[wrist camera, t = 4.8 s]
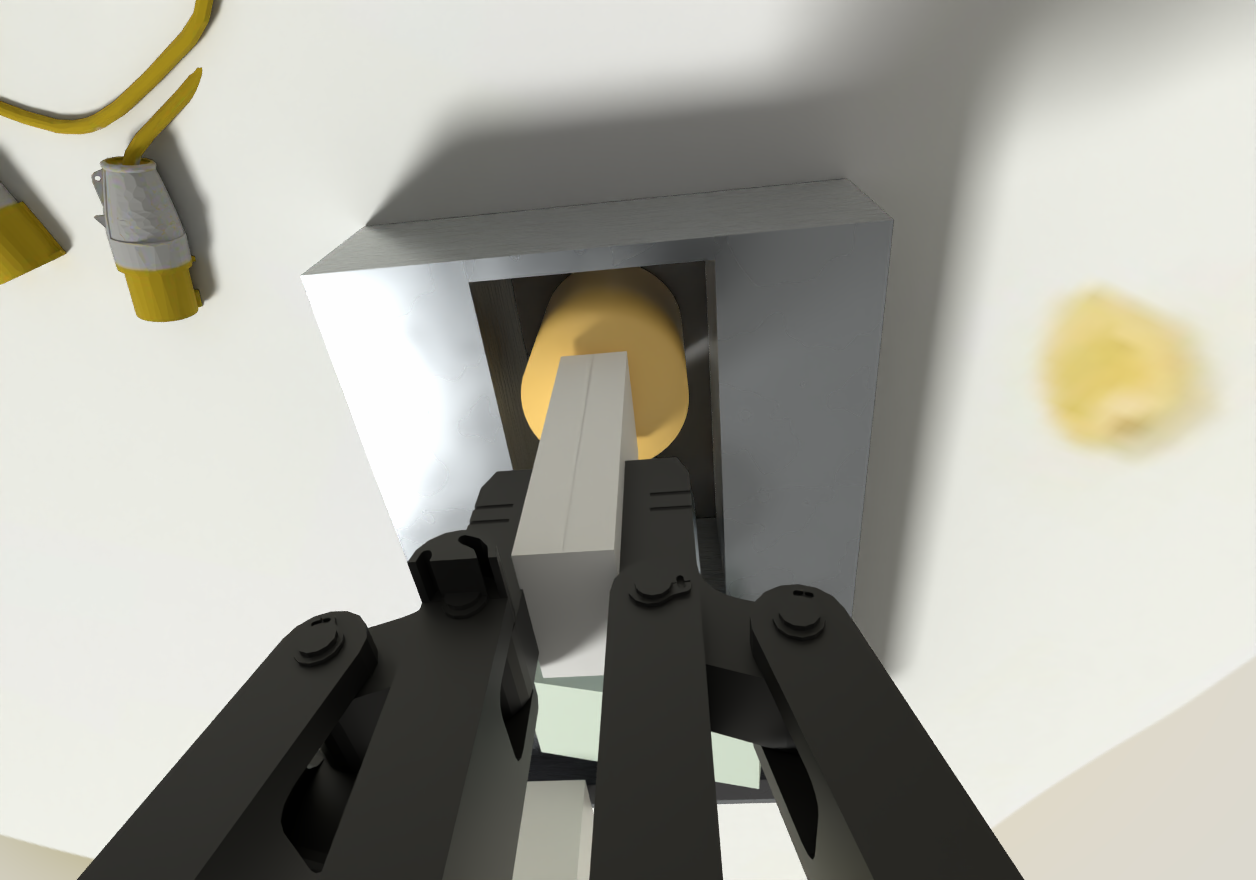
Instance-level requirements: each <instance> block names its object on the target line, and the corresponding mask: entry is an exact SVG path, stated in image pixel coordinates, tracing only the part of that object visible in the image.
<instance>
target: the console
mask: <svg viewBox="0 0 1256 880" xmlns="http://www.w3.org/2000/svg"><path fill="white" fill-rule="evenodd" d="M893 223H894V219H892V218H891V217H890V216H889V215H888V214H887V213H886V212H885V211H883V210H882V209H881V208H880V207H879V206H878V205H877V204H876V203H874V202H873V201H872V200H871V199H870V198H869V197H868V196H867V195H865V194H864V193H863V192H862V191H861V190H860V189H859V188H858V187H856V186H855V185H854V184H853V183H852V182H851V181H850V180H849V179H847V178H846V179H836V180H826V181H816V182H806V183H796V184H786V185H776V186H766V187H756V188H746V189H736V190H726V191H716V192H706V193H696V194H686V195H676V196H666V197H656V198H646V199H636V200H626V201H616V202H606V203H596V204H586V205H576V206H566V207H556V208H546V209H536V210H526V211H516V212H506V213H496V214H486V215H476V216H466V217H456V218H445V219H435V220H425V221H415V222H405V223H395V224H385V225H375V226H365V227H363V228H361V229H360V230H359V231H358V232H356V233H355V234H354V235H352V236H351V237H350V238H349V239H347V240H346V241H345V242H343V243H342V244H341V245H339V246H338V247H337V248H336V249H334V250H333V251H332V252H330V253H329V254H328V255H327V256H325V257H324V258H323V259H321V260H320V261H319V262H317V263H316V264H315V265H314V266H312V267H311V268H310V269H308V270H307V271H306V272H305V273H303V274H302V275H301V279H302V282H303V284H304V287H305V290H306V292H307V295H308V298H309V300H310V303H311V306H312V308H313V311H314V314H315V316H316V319H317V322H318V324H319V327H320V330H321V332H322V335H323V338H324V340H325V343H326V346H327V349H328V351H329V354H330V357H331V359H332V362H333V365H334V367H335V370H336V373H337V375H338V378H339V381H340V383H341V386H342V389H343V391H344V394H345V397H346V399H347V402H348V405H349V407H350V410H351V413H352V415H353V418H354V421H355V423H356V426H357V429H358V431H359V434H360V437H361V439H362V442H363V445H364V447H365V450H366V453H367V456H368V458H369V461H370V464H371V466H372V469H373V472H374V474H375V477H376V480H377V482H378V485H379V488H380V490H381V493H382V496H383V498H384V501H385V504H386V506H387V509H388V512H389V514H390V517H391V520H392V522H393V525H394V528H395V530H396V533H397V536H398V538H399V541H400V544H401V546H402V549H403V552H404V555H405V557H406V560H407V562H408V560H409V559H410V558H411V556H412V555H413V553H414V552H415V550H417V549H418V548H419V547H421V546H422V545H423V544H424V543H426V542H427V541H428V540H430V539H433V538H435V537H437V536H439V535H442V534H444V533H447V532H453V531H458V530H466V529H467V526H468V525H469V524H470V522H469V521H470V518H471V515H472V512H473V510H475V507H474V506H475V503H476V500H477V498H478V495H479V492H480V489H481V487H482V486H483V485H484V484H485V483H486V482H487V481H488V480H489V479H490V478H491V477H492V476H493V475H494V474H495V473H496V472H497V471H510V470H525V469H533V466H534V462H535V458H536V454H537V450H538V446H539V442H540V440H539V439H538V437H537V436H536V435H535V434H534V432H533V431H532V429H531V428H530V426H529V424H528V422H527V420H526V417H525V415H524V411H523V408H522V401H521V385H522V379H523V376H524V372H525V369H526V366H527V364H528V361H527V356H526V351H525V346H524V341H523V336H522V331H521V326H520V321H519V316H518V311H517V306H516V301H515V296H514V292H513V287H512V282H511V278H520V277H531V276H542V275H553V274H564V273H575V272H586V271H596V270H607V269H618V268H629V267H640V266H651V265H662V264H673V263H684V262H695V261H705V272H706V296H707V319H708V342H709V366H710V389H711V412H712V436H713V459H714V482H715V506H716V517H715V518H699V519H696V527H697V538H698V550H699V561H700V573H701V576H702V577H703V579H704V580H705V581H706V582H707V583H708V584H709V585H710V586H712V587H713V588H714V589H716V590H718V591H720V592H722V593H723V594H726V595H729V596H732V597H736V598H740V599H744V600H749V601H754V602H755V601H756V600H757V599H758V598H759V597H760V596H761V595H762V594H763V593H764V592H766V591H768V590H770V589H773V588H775V587H778V586H780V585H792V584H800V585H806V586H811V587H816V588H818V589H820V590H822V591H824V592H826V593H828V594H830V595H832V596H833V597H834V598H835V599H836V600H837V601H838V602H839V603H840V604H841V605H842V606H843V607H844V608H845V610H846V611H847V613H848V614H849V616H850V617H851V619H852V610H853V600H854V591H855V581H856V572H857V563H858V553H859V544H860V534H861V525H862V515H863V506H864V496H865V487H866V478H867V468H868V459H869V449H870V440H871V430H872V421H873V412H874V402H875V393H876V383H877V374H878V364H879V355H880V346H881V336H882V327H883V317H884V308H885V298H886V289H887V279H888V270H889V261H890V251H891V242H892V232H893ZM597 763H598V761H592V760H586V759H580V758H574V757H568V756H563V755H557V754H551V753H545V752H541V749H540V745H539V742H538V738H537V735H536V731H535V735H534V741H533V748H532V754H531V761H530V767H529V774H528V780H527V782H530V781H562V780H585V781H586V785H587V789H588V793H589V798H590V802H591V806H592V808H594V805H595V791H596V777H597ZM715 787H716V800H717V804H739V803H775V802H776V801H775V798H774V796H773V793H772V791H771V788H770V786H769V783H768V781H767V779H766V776H765V774H764V771H763V769H762V766H761V772H760V784H759V789H756V788H750V787H744V786H738V785H732V784H727V783H721V782H715Z"/></svg>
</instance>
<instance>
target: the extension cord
mask: <svg viewBox="0 0 1256 880" xmlns="http://www.w3.org/2000/svg"><path fill="white" fill-rule="evenodd" d="M212 5H213V0H196V3H195V8H194V13H193V14H192V16H191V17H190V19H189V21H188V22H187V24H186V25H185V27H184V28H183V30H182V32H181V33H180V34H179V35H178V36H177V37H176V38H175V39H174V40H173V42H172V43H171V44H170V45H169V46H168V47H167V48H166V49H165V50H164V51H163V52H162V54H161V55H160V56H159V57H158V58H157V59H156V60H155V61H154V62H153V63H152V65H151V66H150V67H149V68H148V69H147V70H146V71H145V72H144V73H143V74H142V75H141V76H140V77H139V78H138V79H137V80H136V81H135V82H134V83H133V84H132V85H131V86H130V87H129V88H128V89H126V90H125V91H124V92H123V93H122V94H121V95H120V96H119V97H118V98H117V99H116V100H115V101H114V102H112V103H111V104H109V105H108V106H106V107H105V108H103V109H102V110H100V111H99V112H97V113H96V114H94V115H91V116H89V117H87V118H82V119H77V120H59V119H54V118H51V117H47V116H44V115H40V114H36V113H33V112H29V111H26V110H23V109H21V108H18V107H15V106H13V105H10V104H7V103H4V102H2V101H0V115H1V116H4V117H7V118H10V119H12V120H15V121H18V122H21V123H23V124H26V125H30V126H34V127H37V128H41V129H44V130H48V131H52V132H55V133H62V134H85V133H91V132H94V131H97V130H99V129H102V128H104V127H106V126H108V125H109V124H111V123H112V122H114V121H116V120H117V119H119V118H120V117H122V116H123V115H125V114H126V113H127V112H128V111H129V110H130V109H132V108H133V107H134V106H135V105H136V104H137V103H138V102H139V101H140V100H141V99H142V98H143V97H144V96H145V95H146V94H148V93H149V92H150V91H151V90H152V89H153V88H154V87H155V86H156V85H157V84H158V83H159V82H160V81H161V80H162V79H163V78H164V77H165V76H166V75H167V74H168V73H169V72H170V71H171V70H172V69H173V68H174V66H175V65H176V64H177V63H178V62H179V61H180V60H181V59H182V58H183V57H184V56H185V55H186V54H187V53H188V52H189V51H190V50H191V49H192V48H193V47H194V46H195V45H196V44H197V42H198V40H199V38H200V36H201V35H202V33H203V31H204V29H205V28H206V26H207V24H208V22H209V19H210V15H211V10H212ZM201 76H202V68H197V69H196V70H195V71H194V73H192V74H191V75H189V76H188V78H187V79H186V80H185V81H184V82H183V84H182V85H181V86H180V87H179V89H178V90H177V91H176V92H175V93H174V94H173V95H172V96H171V97H170V98H169V99H168V100H167V101H166V102H165V104H164V105H163V106H162V107H161V108H160V109H159V110H158V111H157V112H156V113H155V114H154V115H153V116H152V117H151V118H150V120H149V121H148V122H147V123H146V124H145V125H144V126H143V127H142V128H141V129H140V130H139V131H138V132H137V133H136V135H135V136H134V138H133V139H132V141H131V143H130V144H129V146H128V147H127V149H126V150H125V154H124V156H122V157H112V158H107V159H105V160H103V161H101V162H100V165H101V167H102V169H101V170H98V171H96V172H94V173H93V174H92V183H93V185H94V187H95V189H96V192H97V194H98V196H99V198H100V201H101V203H102V205H103V214H104V215H96V216H95V217H94V218H95V219H96V220H97V221H98V222H100V223H101V224H102V225H103V226H104V227H105V228H106V234H107V237H108V241H109V244H110V247H111V251H112V254H113V257H114V260H115V264H116V267H117V269H118V271H120V272H122V273H124V274H125V277H126V281H127V284H128V288H129V291H130V295H131V298H132V302H133V305H134V308H135V312H136V315H137V316H138V317H139V318H140V319H143V320H146V321H152V322H169V321H176V320H181V319H185V318H188V317H190V316H192V315H194V314H195V313H197V311H198V307H201V306H202V302H201V297H200V293H199V290H194V289H193V284H192V280H191V276H190V272H189V268H190V267H191V266H192V262H194V261H196V260H195V256H191V253H190V249H189V245H188V240H187V236H186V232H185V230H183V227H182V224H181V221H180V219H179V216H178V214H177V211H176V209H175V207H174V205H173V203H172V200H171V198H170V196H169V194H168V192H167V190H166V188H165V185H164V183H163V181H162V179H161V177H160V175H159V174H158V172H157V170H156V163H155V162H154V161H152V160H150V159H147V158H142V157H141V156H142V155H143V153H144V152H145V151H146V149H147V148H148V147H149V145H150V144H151V143H152V142H153V140H154V139H155V138H156V137H157V136H158V135H159V133H160V132H161V131H162V130H163V129H164V128H165V127H166V126H167V125H168V124H169V123H170V122H171V121H172V120H173V119H174V118H175V117H176V115H177V114H178V113H179V112H180V111H181V110H182V109H183V108H184V107H185V106H186V105H187V104H188V103H189V102H190V100H191V99H192V97H193V95H194V94H195V92H196V90H197V87H198V85H199V82H200V79H201ZM95 176H100V177H101V179H100V181H97V180H95ZM65 254H66V252H65V251H64V250H63V249H62V247H61V246H60V245H59V244H58V243H57V241H56V240H55V239H54V238H53V237H52V235H51V234H50V233H49V232H48V231H47V229H46V228H45V227H44V226H43V225H42V224H41V222H40V221H39V220H38V219H37V218H36V216H35V215H34V214H33V213H32V212H31V210H30V209H29V208H28V207H27V206H26V205H25V203H24V202H23V201H22V202H19V203H18V202H17V201H16V199H15V198H14V197H13V196H12V195H11V194H10V192H9V191H8V190H7V189H6V188H5V187H4V185H3V184H2V183H1V182H0V285H1V284H4V283H6V282H8V281H10V280H12V279H14V278H16V277H19V276H21V275H23V274H25V273H27V272H29V271H31V270H33V269H35V268H38V267H40V266H42V265H44V264H46V263H48V262H50V261H53V260H55V259H57V258H59V257H61V256H63V255H65Z"/></svg>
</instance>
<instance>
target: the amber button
mask: <svg viewBox="0 0 1256 880" xmlns="http://www.w3.org/2000/svg"><path fill="white" fill-rule="evenodd" d="M622 351H627V357H628V366H629V375H630V384H631V392H632V401H633V410H634V419H635V427H636V436H637V445H638V460H642V459H651V458H653V457H655V456H656V455H658V454H659V453H661V452H662V451H663V450H664V449H665V448H667V447H668V446H669V445H670V444H671V443H672V441H673V440H674V439H675V438H676V436H677V435H678V433H679V432H680V430H681V428H682V426H683V424H684V422H685V419H686V416H687V412H688V405H689V391H688V380H687V370H686V359H685V349H684V339H683V328H682V320H681V314H680V310H679V307H678V305H677V302H676V300H675V298H674V296H673V295H672V293H671V292H670V290H669V289H668V288H667V287H666V285H665V284H664V283H663V282H662V281H660V280H659V279H658V278H657V277H656V276H654V275H653V274H651V273H650V272H648V271H646V270H644V269H642V268H640V267H629V268H618V269H607V270H596V271H586V272H575V273H572V274H571V275H570V276H568V277H567V278H566V279H565V280H563V282H562V283H561V284H560V285H559V286H558V287H557V288H556V290H555V291H554V293H553V294H552V296H551V298H550V300H549V303H548V305H547V308H546V311H545V314H544V317H543V320H542V323H541V326H540V329H539V332H538V335H537V337H536V340H535V343H534V346H533V349H532V352H531V355H530V358H529V361H528V364H527V366H526V369H525V372H524V376H523V379H522V385H521V401H522V408H523V411H524V415H525V417H526V420H527V422H528V424H529V426H530V428H531V429H532V431H533V432H534V434H535V435H536V436H537V437H538V439H539V440H540V438H541V434H542V430H543V426H544V422H545V418H546V414H547V410H548V406H549V402H550V398H551V394H552V390H553V386H554V382H555V378H556V374H557V370H558V366H559V362H560V358H561V357H562V356H574V355H586V354H598V353H610V352H622Z"/></svg>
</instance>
